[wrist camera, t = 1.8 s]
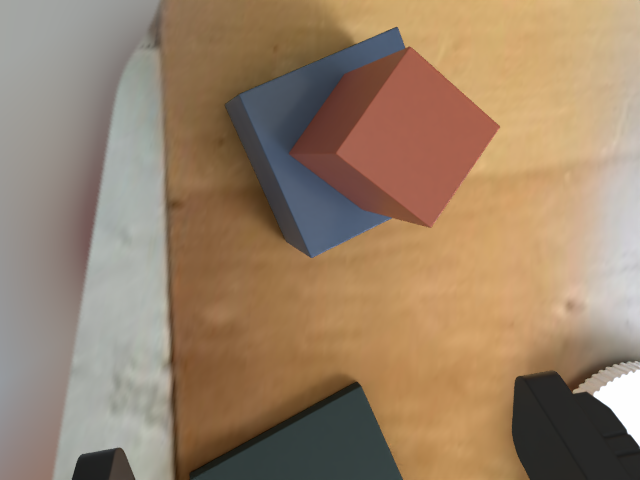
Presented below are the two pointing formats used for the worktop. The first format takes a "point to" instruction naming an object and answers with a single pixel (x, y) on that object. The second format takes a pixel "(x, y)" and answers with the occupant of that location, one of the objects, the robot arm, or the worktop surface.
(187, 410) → the worktop surface
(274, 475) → the mat
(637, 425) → the plastic lid
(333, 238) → the base block
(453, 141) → the top block
